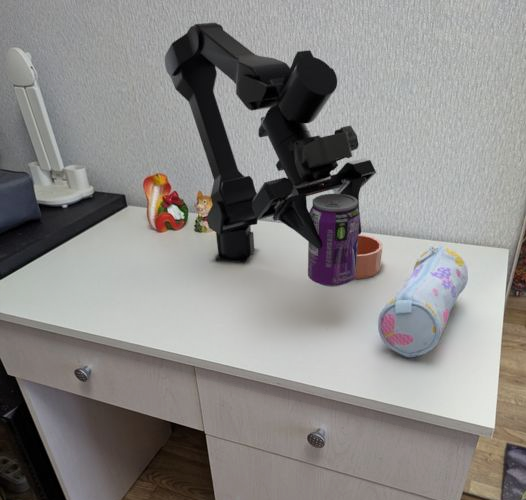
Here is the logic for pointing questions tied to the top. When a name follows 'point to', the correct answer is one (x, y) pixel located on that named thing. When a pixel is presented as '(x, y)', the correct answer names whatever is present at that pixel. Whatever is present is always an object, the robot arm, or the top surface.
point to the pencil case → (423, 303)
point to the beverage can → (334, 239)
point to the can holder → (368, 256)
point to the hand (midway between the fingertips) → (339, 240)
